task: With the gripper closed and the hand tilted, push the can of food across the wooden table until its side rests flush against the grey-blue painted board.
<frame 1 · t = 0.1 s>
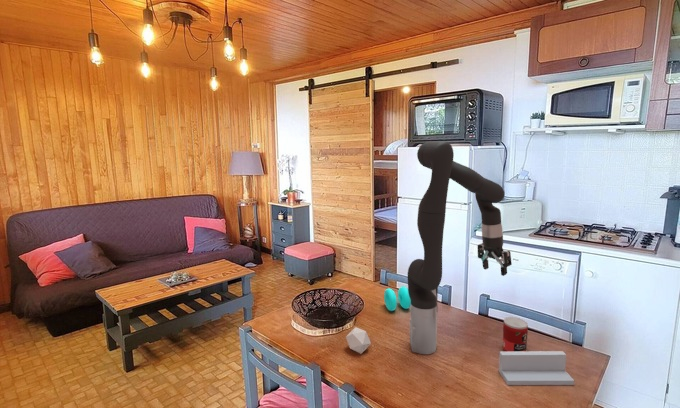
hand: (494, 271, 146), 22 cm above the table, tool pointing down, fingers open, 8 cm apart
die: (358, 350, 134), on the table
stop board: (531, 372, 117), on the table
canned food: (514, 350, 130), on the table
pair of cyan discs: (397, 309, 166), on the table
coffee box: (428, 308, 165), on the table
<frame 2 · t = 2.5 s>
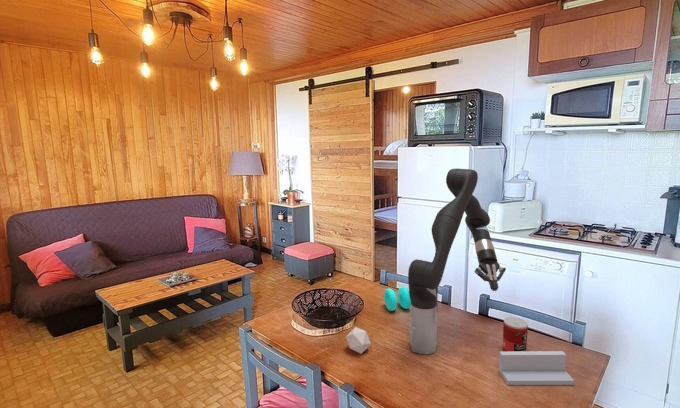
hand: (495, 290, 147), 15 cm above the table, tool tilted 45°, fingers closed
nothing on the table moved.
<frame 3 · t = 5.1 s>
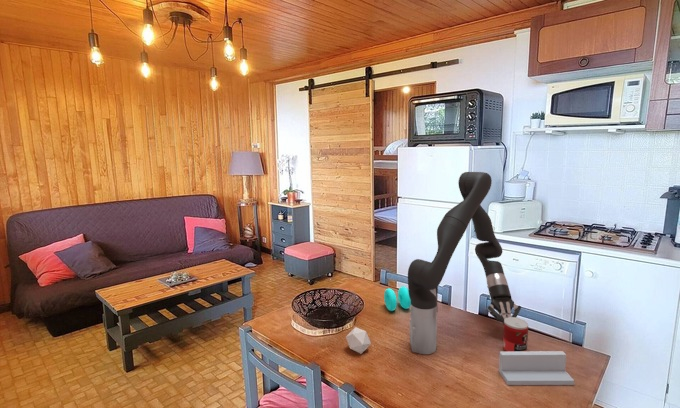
hand: (509, 331, 134), 5 cm above the table, tool tilted 45°, fingers closed
canned food: (514, 351, 130), on the table, touching gripper
everything else where it was.
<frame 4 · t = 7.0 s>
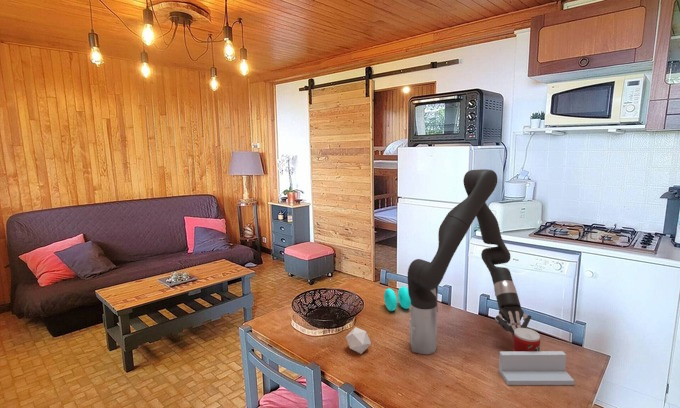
hand: (519, 343, 126), 5 cm above the table, tool tilted 45°, fingers closed
canned food: (525, 364, 122), on the table, touching gripper, stop board
everything else where it was.
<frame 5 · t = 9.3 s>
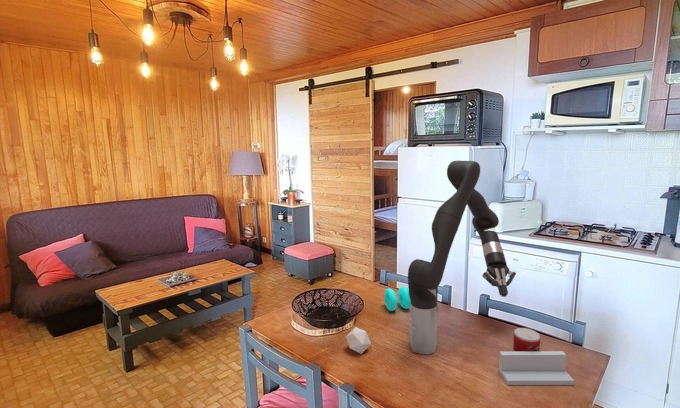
hand: (504, 295, 138), 16 cm above the table, tool tilted 45°, fingers closed
canned food: (525, 364, 122), on the table
everything else where it was.
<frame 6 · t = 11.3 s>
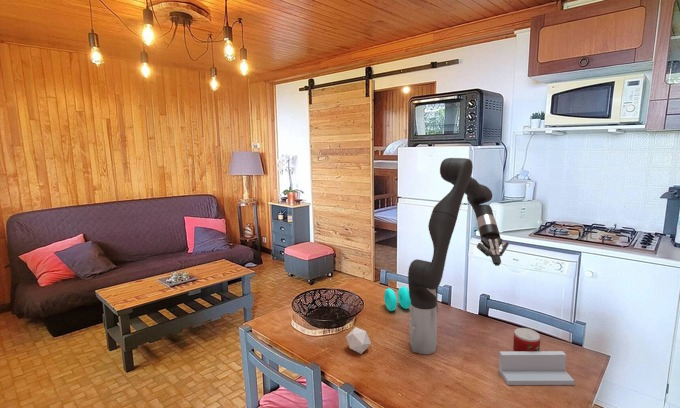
hand: (497, 264, 143), 26 cm above the table, tool tilted 45°, fingers closed
nothing on the table moved.
at the end: canned food inside the target area on the stop board (0.4 cm from its centre), point 0.0 cm above the stop board's base; canned food tilted 0° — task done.
